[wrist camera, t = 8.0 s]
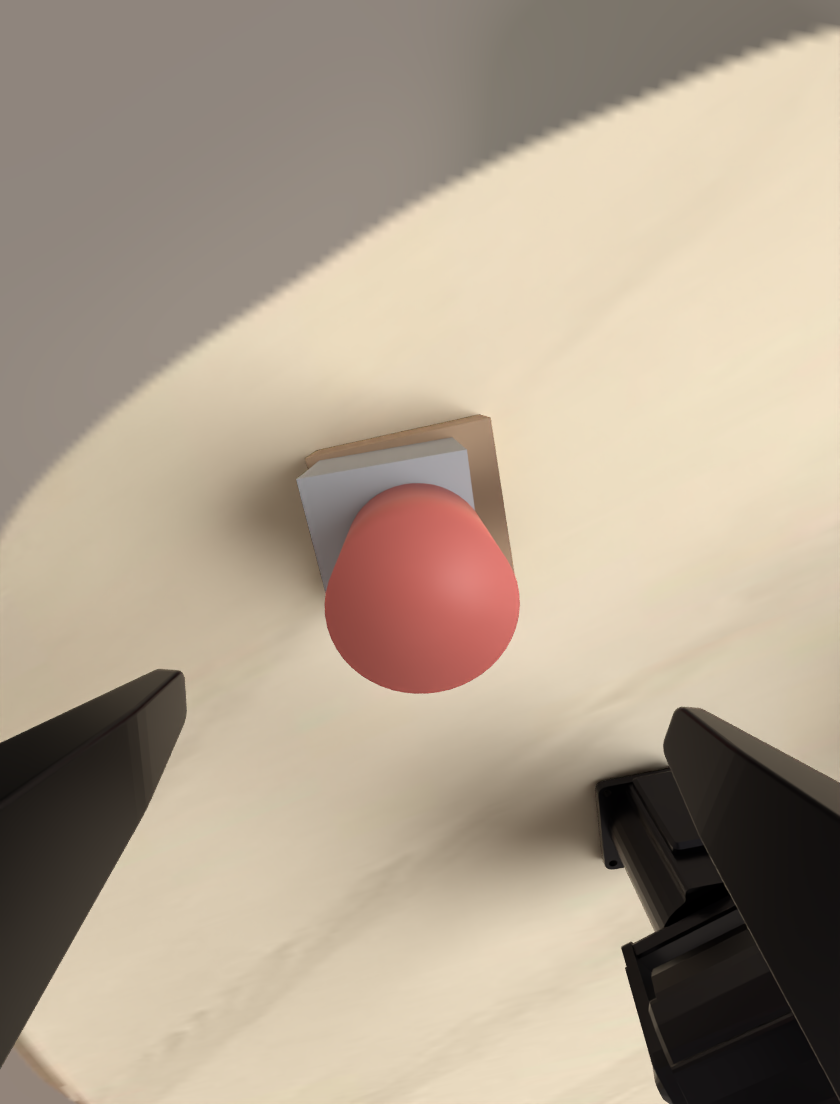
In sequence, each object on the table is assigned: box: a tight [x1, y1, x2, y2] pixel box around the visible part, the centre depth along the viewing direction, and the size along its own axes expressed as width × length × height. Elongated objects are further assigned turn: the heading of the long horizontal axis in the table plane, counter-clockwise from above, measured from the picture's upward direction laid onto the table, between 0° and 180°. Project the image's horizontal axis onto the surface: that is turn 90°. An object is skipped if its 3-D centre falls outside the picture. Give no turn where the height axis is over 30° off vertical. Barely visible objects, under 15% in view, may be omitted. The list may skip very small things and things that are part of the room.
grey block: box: [296, 437, 475, 593], centre depth 16 cm, size 5×5×4 cm
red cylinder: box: [325, 483, 520, 693], centre depth 12 cm, size 4×4×4 cm
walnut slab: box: [305, 414, 514, 572], centre depth 19 cm, size 7×7×3 cm
